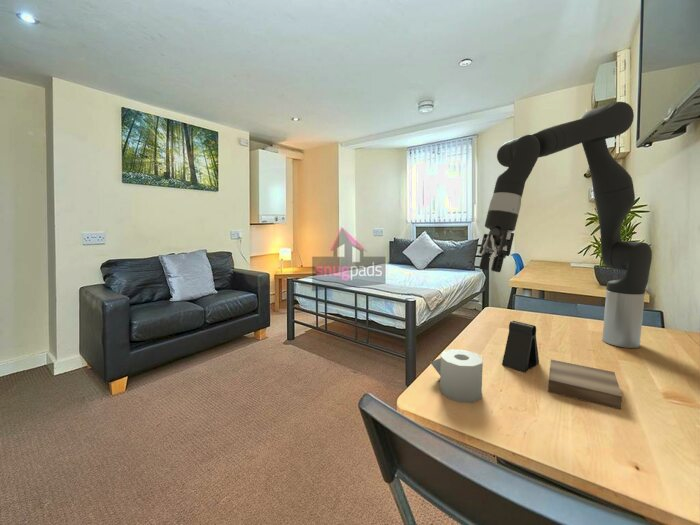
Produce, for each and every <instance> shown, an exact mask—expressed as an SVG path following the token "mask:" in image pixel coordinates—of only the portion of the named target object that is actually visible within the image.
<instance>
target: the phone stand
mask: <svg viewBox="0 0 700 525" xmlns="http://www.w3.org/2000/svg"><path fill="white" fill-rule="evenodd" d="M505 344H506V345H505V349H504V352H503V358H502V361H501V362H502V363H501V365H502V366H505V367H507V368H509V369H513V370H516V371H519V372H521V373H523V374H526V373H527V372H528V371H530V370H532V369H534V368H535V367H536V366H538V365H539V364H540V358H539V351H538V350H539V349H538V341H537V327H536V325H533V324H529V323H524V322H520V321H516V320H510V321H509V325H508V334H507V340H506V343H505Z"/></svg>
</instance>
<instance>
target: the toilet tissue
mask: <svg viewBox="0 0 700 525" xmlns="http://www.w3.org/2000/svg"><path fill="white" fill-rule="evenodd" d="M483 360H484V358H483V357H482V356H481V355H479V354H477V353H476V352H474V351H471V350H470V351H469V350H466V349H457V348H456V349H453V348H451V349H447V350H444V351H442V353H441V355H440V358H437V359H435V360H431V361H430V362H429V363H430V364H431V365H432V367H433V368H434V370H435V371H436V373H437V374H438V375H439V376H440V378H439V380H440V382H439V391H440V392H441V393H442V394H443V395H444V396H445V398H448V399H450V400H453V401H455V402H458V403H466V404H467V403H471V404H473V403H474V402H475V403H476V402H478V401H480V400H482V389H483V386H482V385H483V366H484V365H483V363H484V362H483Z"/></svg>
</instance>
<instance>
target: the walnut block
mask: <svg viewBox="0 0 700 525" xmlns="http://www.w3.org/2000/svg"><path fill="white" fill-rule="evenodd" d="M547 381H548V384H547V392H549V393H552V394H557V395H560V396H565V397H568V398H572V399H575V400H580V401H584V402H588V403H591V404H592V403H593V404H597V405H600V406H604V407H607V408H612V409H617V410H620V411H621V410H622V403H623V395H622V391H621V388H620V385H619V382H618V379H617V375H616V372H615V371H611V370H606V369H601V368H595V367H591V366H586V365H582V364H576V363H571V362H565V361H560V360H555V359H550V364H549V374H548V380H547Z"/></svg>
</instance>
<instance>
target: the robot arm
mask: <svg viewBox="0 0 700 525" xmlns="http://www.w3.org/2000/svg"><path fill="white" fill-rule="evenodd" d="M634 113H635V112H634V109H633V107H632V106H631V105H630V104H629V103H627V102H625V101H615V102H611V103H607V104H605V105H602V106H599V107H596V108H593V109H591V110H588V111H586V112H584V113H583V114H582V115H581V117H580V118H579V119H575V120H572V121H568V122H564V123H560V124H557V125H553V126H550V127H548V128H547V127H546V128H544V129H541V130H539V131H536V132H534V133H532V134H525V135H521V136H518V137H516V138H513V139H511V140H509V141H506V142H504V143H503V144H501V146H500V147H499V148H498V151H497V153H496V159H497V162H498V163H499V165H501V166H503V167H505V168H506V170H504V171H503V172H502V173H500V174H499V175H498V176H497V179H496V181H495V186H494V188H493V193H492V197H491V199H490V202H489V206H488V209H487V210H488V211H487V213H486V214H487V215H486V217H485V218H486V219H485V222H484V227H485V228H486V229H488V230H489V232H488V233H483V237H482V240H481V244H480V247H479V248H480V249H479V251H478V252H479V254H480V256H481V259H480V262H479V267H478V268H479V269H480V270H483V271H488V270H489V265H490V261H491V257H492V255H493V253H494V256H493V260H492V263H491V264H492V265H491V267H490V269H491V272H496V273H501V271H502V267H503V264H504V260H505V259H506V257H507V256H508V257H509V256H510V255H511V250H512V246H513V241H514V237H515V233H514V232H515V230H516V227H517V223H518V218H519V213H520V210H521V205H522V197H523V194H524V189H525V185H526V182H527V179H528V178H529V177H530V175H531V174H532V170H533V169H534V167H535V165H536V163H537V161H538V159H539V158H542V157H543V158H544V157H547V156H550V155H553V154H556V153H558V152H561V151H564V150H567V149H570V148H571V147H574V146H577V145H579V144H582V145H581V146H582V148H583V151H584V155H585V157H586V161H587V164H588V168H589V174H590V179H591V184H592V192H593V197H594V203H595V207H596V212H597V216H598V223H599V224H598V225H599V232H600V233H599V234H600V247H601V248H600V249H601V258H602V262H603V264H604V265H605V267H606V268H608V269H611V270H618V271H624V272H625V271H626V273H625V276H624V277H622V278H619V279H613V280H609V281H607V283H606V288H605V289H606V290H605V291H606V292H605V305H604V313H603V314H604V315H603V327H602V337H601V339H602V340H601V341H603V342H604V343H606V344H609V345H612V346H616V347H618V348H619V347H621V348H627V349H637V348H640V345H641V338H642V337H641V336H642V326H643V319H644V318H643V317H644V306H645V295H646V289H647V285H648V283H649V276H650V270H651V265H652V259H653V251H652V247H651V246H650V245H649V244H648V243H647V242H644V241H643V242H642V241H622V237H621V227H622V224H623V222H624V220H625V219H626V217H627V216H628V214H629V213H630V211H631V210H632V208H633V206H634V204H635V200H636V196H635V195H636V194H635V187H634V181H633V179H632V176H631V175H630V173H629V172H628V171H627V169H625V168H624V167H623V166H622V165H621V164H620V163H619V162H618V161H617V160H616V159H615V158H614V157H613V156H612V154H611V152H610V151H609V148H608V144H607V140H608V139H611V138H616V137H618V136H621V135H622V134H624V133H626V132H627V131H628V130H629V129H630V128H631V127H632V124H633V122H634V118H635V114H634ZM606 139H607V140H606Z"/></svg>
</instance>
